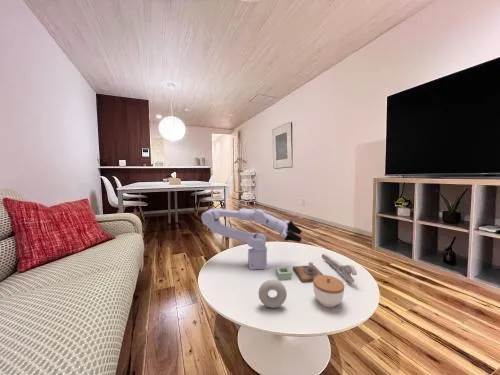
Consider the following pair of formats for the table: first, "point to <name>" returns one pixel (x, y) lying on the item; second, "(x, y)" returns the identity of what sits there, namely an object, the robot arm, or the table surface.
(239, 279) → the table surface
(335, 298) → the lidded jar
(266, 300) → the donut
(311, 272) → the peg base
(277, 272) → the collar
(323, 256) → the wrench
